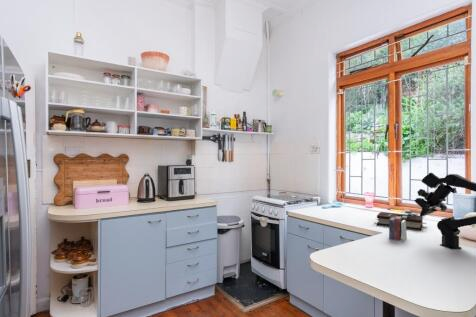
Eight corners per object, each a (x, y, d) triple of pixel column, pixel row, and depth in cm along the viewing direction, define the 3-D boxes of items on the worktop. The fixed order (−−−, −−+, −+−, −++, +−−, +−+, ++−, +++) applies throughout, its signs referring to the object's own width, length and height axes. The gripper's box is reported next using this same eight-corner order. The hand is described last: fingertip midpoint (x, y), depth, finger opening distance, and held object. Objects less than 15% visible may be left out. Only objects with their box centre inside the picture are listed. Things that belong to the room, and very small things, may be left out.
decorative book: (377, 210, 204) (426, 214, 186) (377, 220, 204) (426, 226, 186) (372, 214, 188) (425, 219, 171) (372, 225, 188) (425, 232, 171)
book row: (401, 237, 157) (401, 216, 157) (399, 241, 151) (399, 219, 151) (391, 236, 160) (391, 215, 160) (389, 239, 154) (389, 217, 154)
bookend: (406, 237, 156) (405, 220, 156) (404, 241, 149) (403, 222, 150) (404, 237, 156) (403, 219, 157) (402, 241, 150) (401, 222, 150)
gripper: (438, 186, 154) (420, 207, 161) (416, 182, 147) (398, 204, 154) (456, 199, 145) (436, 221, 153) (433, 196, 138) (413, 219, 145)
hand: (420, 215), depth 151 cm, fingers closed
